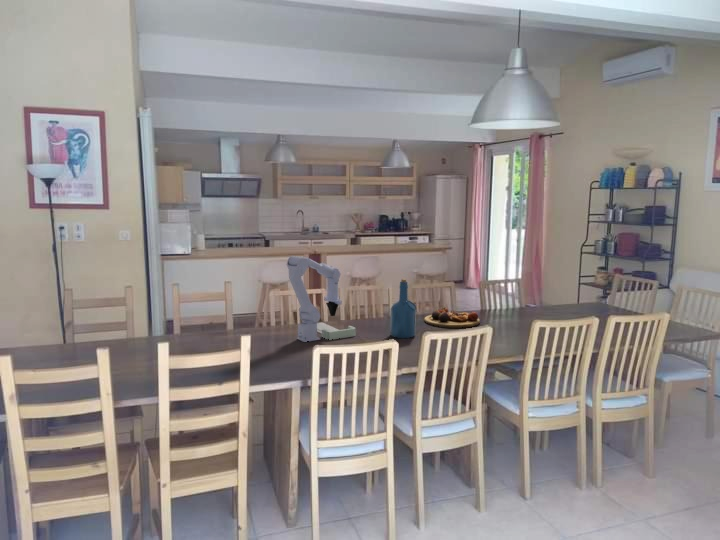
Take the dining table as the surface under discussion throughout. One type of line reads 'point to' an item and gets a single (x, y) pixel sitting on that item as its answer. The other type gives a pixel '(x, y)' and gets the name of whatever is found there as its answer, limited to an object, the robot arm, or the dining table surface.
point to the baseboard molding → (324, 327)
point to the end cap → (339, 333)
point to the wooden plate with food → (452, 319)
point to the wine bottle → (403, 315)
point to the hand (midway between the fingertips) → (332, 315)
